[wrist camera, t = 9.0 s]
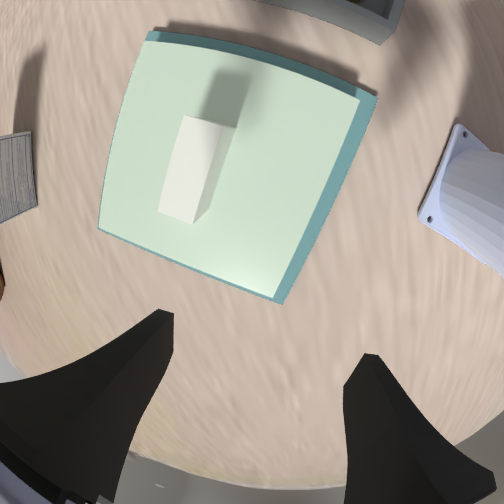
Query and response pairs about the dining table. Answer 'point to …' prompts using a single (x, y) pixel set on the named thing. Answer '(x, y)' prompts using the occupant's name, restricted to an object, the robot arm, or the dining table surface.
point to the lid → (221, 160)
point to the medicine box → (16, 176)
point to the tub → (352, 15)
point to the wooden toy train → (1, 286)
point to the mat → (338, 169)
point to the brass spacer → (355, 1)
